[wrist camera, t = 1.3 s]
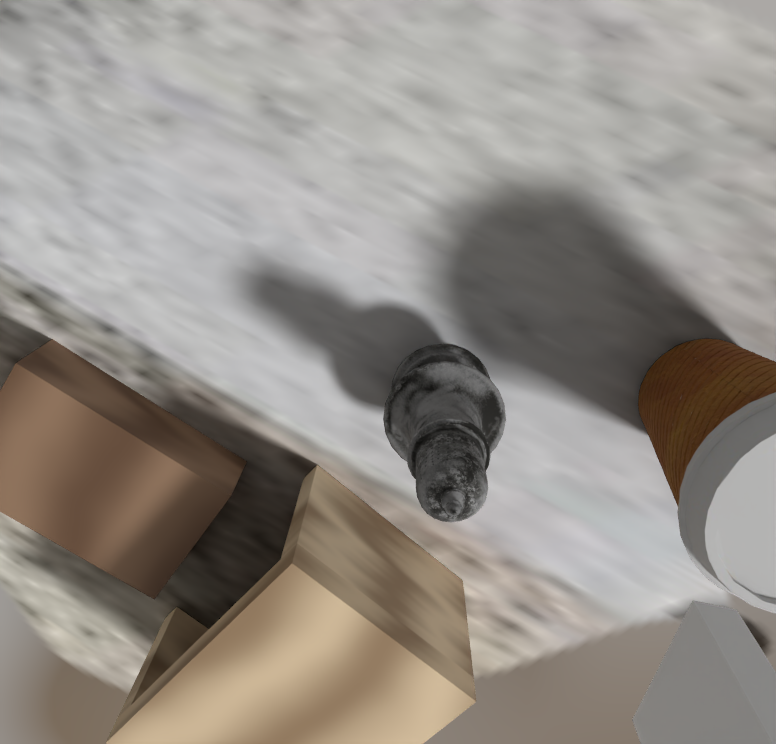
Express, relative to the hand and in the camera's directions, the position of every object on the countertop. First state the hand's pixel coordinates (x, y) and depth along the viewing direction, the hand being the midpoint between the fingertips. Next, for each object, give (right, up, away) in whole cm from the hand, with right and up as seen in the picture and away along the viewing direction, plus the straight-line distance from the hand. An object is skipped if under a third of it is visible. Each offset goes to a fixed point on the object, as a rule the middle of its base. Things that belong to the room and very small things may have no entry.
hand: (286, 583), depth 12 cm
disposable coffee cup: (+18, +2, +26) cm, 31 cm away
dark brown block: (-13, -1, +28) cm, 31 cm away
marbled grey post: (+4, +2, +26) cm, 27 cm away
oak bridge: (-3, -10, +31) cm, 32 cm away
